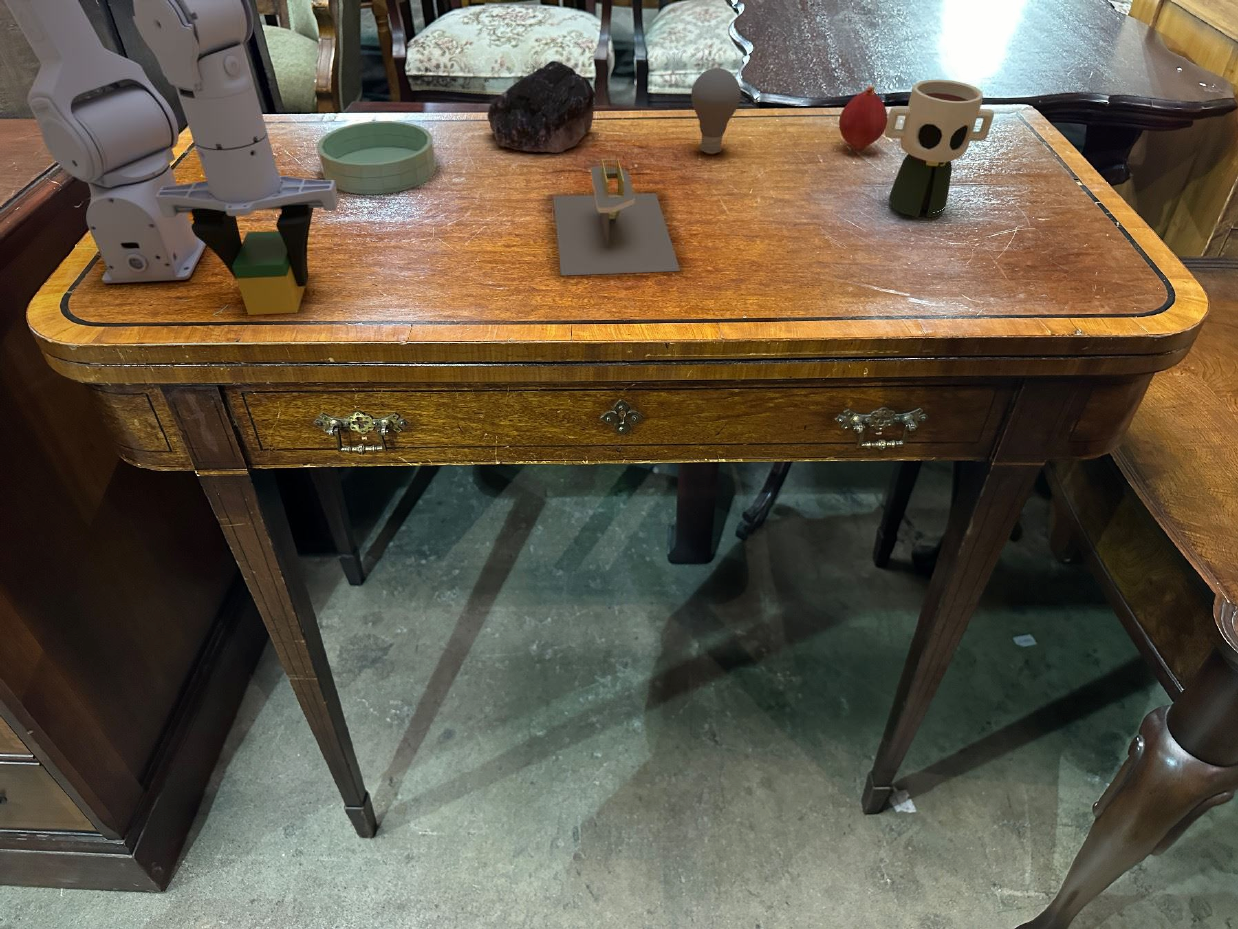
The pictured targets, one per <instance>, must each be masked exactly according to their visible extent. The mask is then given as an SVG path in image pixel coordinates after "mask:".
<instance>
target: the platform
mask: <svg viewBox="0 0 1238 929" xmlns="http://www.w3.org/2000/svg"><path fill="white" fill-rule="evenodd" d="M604 161H605V162H604ZM610 162H612V167H611V166H610ZM590 177H591V182H592V183H591V184H592V187H593V193H594V194H585V195H584V194H580V195H554V196H552V199H553V209H554V219H555V229H556V239H557V250H558V258H559V268H560V276H584V275H610V274H613V275H614V274H634V273H635V274H638V273H661V272H681V268H680V265H679V262H678V260H677V256H676V253H675V252H676V251H675V250H674V246H673V242H672V240H671V237H670V233H669V231H668V227H667V223H666V221H665V217H664V215H663V211H662V208H661V204H660V202H659V198H658V195H657V193H656V192H652V193H651V192H649V193H645V192H643V193H634V190H633V186H632V182H631V178H630V174H629V172H628V171H627V170H626V169H622V167H621V163H620V159H619V158H603V159H601V166H591V167H590ZM610 179H617V194H616V193H615V194H613V193H611V194H609V187H610V183H611V182H610V181H608V180H610Z"/></svg>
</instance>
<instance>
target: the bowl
mask: <svg viewBox="0 0 1238 929" xmlns="http://www.w3.org/2000/svg"><path fill="white" fill-rule="evenodd" d="M316 152H317V156H318V160H319V164H320V170H321V173H322V175H323V178H324V179H323V180H334V181H335V185H336V189H337V191H340V192H345V193H350V194H355V195H385V194H393V193H399V192H403V191H406V190H410V189H413V188H415V187H418V186H420V185H423V184H424V183H425V182H427V181H429V180H430V179H431V178H432V177H433V176H434V175H435V173H436V171H437V159H436V151H435V143H434V136H433V135H432V134H431V133H430V131H428V129H426V128H424V127H422V126H421V125H417V124H413V123H409V122H405V121H396V120H394V121H393V120H375V121H374V120H372V121H365V122H358V123H357V122H356V123H353V124H349V125H345V126H342V127H341V126H340V127H338V128H336V129H334V130H332V131H329V132H327V133H326V134H325V135H324V136H322V137H321V138H320V139H319V140H318V142H317V144H316Z"/></svg>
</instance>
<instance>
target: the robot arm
mask: <svg viewBox="0 0 1238 929" xmlns="http://www.w3.org/2000/svg"><path fill="white" fill-rule="evenodd" d="M131 1H132V3H133V11H134V15H133V16H132V20H133V22H134V25H135V27H136V29H137V31H138V33H139V35H140V36H141V38H142V39H143V42H144V43H145V44H146V45H147V47H148V48H149V49H150V50H151V52H152V53H153V54H154V56H155V58H156V60H157V62H158V64H159V67H160V69H161V73H162V75H163V77H164V78H166V80H167V82H168V84H169V85H171V86H174V87H175V91H176V93H177V96H178V99H179V102H180V105H181V107H182V111H183V114H184V117H185V119H186V123H187V126H188V128H189V132H190V135H191V137H192V141H193V144H194V147H195V150H196V152H197V156H198V159H199V162H200V164H201V168H202V170H203V173H204V177H205V179H206V180H202V181H196V182H191V183H190V182H189V183H183V184H178V183H177V179H176V177H175V174H174V172H173V169H172V167H171V164H170V163H172V162H173V161H175V160H176V156H175V154H174V151H173V149H174V148H176V147H177V145H178V142H179V138H180V134H179V132H180V131H179V125H178V120H177V118H176V115H175V113H174V111H173V109H172V108H171V106H170V104H169V103H168V101H167V100H166V99H165V98H164V97H163V95H162V94H160V93H159V91H158V90H157V88H155V86H154V85H153V84H152V82H151V81H150V79H149V78H148V76H147V75H146V73H145V71H144V69H143V67H142V65H141V64H139V63H137V62H135V61H134V60H132V59H129V58H126V57H124V56H123V55H120V54H118V53H115V52H113V51H111V50H109V49H107V48H105V47H104V45H103V43H102V42H101V40H100V38H99V36H98V34H97V33H96V30H95V28H94V27H93V25H92V23H91V22H90V20H89V18H88V16H87V14H86V13H85V11H84V9H83V7H82V5H81V3H80V1H79V0H3V2H4V3H5V5H6V7H7V9H8V11H9V12H10V14H11V16H12V18H13V19H14V21H15V22H16V24H17V25H18V27H19V29H20V30H21V32H22V34H23V36H24V37H25V39H26V41H27V42H28V44H29V46H30V48H31V49H32V51H33V52H34V54H35V56H36V58H37V59H38V61H39V63H40V64H41V65H40V68H39V70H38V72H37V75H36V78H34V82H33V84H32V86H31V88H30V90H29V92H28V95H27V97H26V103H27V104H28V106H29V109H30V111H31V112H32V114H33V116H34V118H35V120H36V122H37V124H38V127H39V129H40V133H41V137H42V140H43V143H44V145H45V146H46V148H47V150H48V153H49V154H50V155H51V157H52V158H53V159H54V160H55V162H56V163H57V164H58V165H59V166H60V167H61V168H62V169H63V170H64V171H65V172H66V173H67V174H69V175H70V176H72V177H74V178H75V179H77V180H79V181H81V182H84V183H87V185H88V188H89V191H90V202H89V205H88V207H87V210H86V217H85V219H86V224H87V228H88V230H89V233H90V235H91V237H92V238H93V241H94V243H95V245H96V248H97V250H98V252H99V254H100V256H101V258H102V260H103V263H104V265H105V268H106V269H107V270H106V271H105V272H104V274H103V276H102V277H101V281H102V282H103V283H104V284H123V283H124V284H125V283H145V282H163V281H164V282H165V281H185V280H188V279H190V278H191V276H192V274H193V272H194V270H195V268H196V266H197V265H198V262H199V260H200V258H201V257H202V255H203V252H204V250H205V248H206V246H207V247H208V248H209V249H210V250H211V251H212V252H213V253H214V254H215V255H216V256H217V258H219V259H220V261H222V263H223V264H224V265H225V267H226V268H227V270H228V271H229V272H230V273H231V275H232V277H233V278H234V280H235V281H236V282H237V280H236V277H235V274H234V271H233V268H232V266H233V263H234V261H235V259H236V257H237V254H238V252H239V250H240V248H241V245H242V243H243V241H242V238H241V234H240V230H239V225H238V221H237V217H247V216H251V215H252V214H253V213H254V211H255V212H256V211H269V210H270V211H271V210H272V211H273V210H280V211H281V213H280V214H279V216H278V218H277V221H276V223H275V226H276V229H277V231H279V233H280V235H281V237H282V239H283V241H284V244H285V246H286V249H287V251H288V254H289V257H290V260H291V265H292V269H293V274H294V278H295V281H296V283H297V286H298V287H302V286H305V287H306V286H307V284H308V279H309V268H308V266H309V265H308V244H309V235H310V229H311V222H312V217H313V212H314V209H318V208H319V209H320V208H323V210H324V211H325V212H326V211H327V212H329V211H337V210H338V206H339V202H340V198H339V194H338V189H336V185H335V181H334V180H325V179H312V178H303V177H296V176H295V177H294V176H286V175H280V174H279V170H278V166H277V163H276V159H275V155H274V152H273V148H272V144H271V141H270V137H269V134H268V130H267V126H266V123H265V119H264V116H263V111H262V108H261V104H260V101H259V97H258V93H257V90H256V86H255V83H254V82H255V81H254V79H253V75H252V72H251V68H250V64H249V61H248V57H247V53H246V49H245V46H244V44H245V43H248V42H249V41H250V39H251V37H252V35H253V32H254V15H253V11H252V7H251V4H250V1H249V0H131ZM103 87H109V88H111V89H109V90H107V91H104V92H101V93H98V94H95V95H93V96H89V97H86V98H84V99H81V100H78V101H74V102H73V100H74V99H75V98H76V97H77V96H79V95H81V94H84V93H87V92H90V91H94V90H96V89H99V88H103ZM189 214H191V216H192V221H193V222H192V221H191V219H190V216H189Z"/></svg>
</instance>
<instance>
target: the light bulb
mask: <svg viewBox="0 0 1238 929" xmlns="http://www.w3.org/2000/svg"><path fill="white" fill-rule="evenodd" d="M690 96H691V97H690V98H691V104H692V107H693V109H694V113H695V114H696V116H697V119H698V122H699V131H700V132H701V142H700V150H701V151H703V152H704V153H706V154H707V155H714V154H716V153H719V152H721V151H722V144H723V142H722V141H723V136H724V134H725V133H726V131H727V127H728V123H729V122H730V120H731V118H732V117H733V116H734V113H735V112H736V111H737V109H738V107H739V105H740V101H741V96H742V90H741V86H740V83H739V81H738V79H737V77H735V75H734V74H733V73H732V72H731V71H729V70H728V69H724V68H721V67H713V68H709V69H707V70H705V71H704V72H702V73H701V74H700V75H699V76H698V77H697V78H696V80H695V81H694V83H693V85H692V87H691V94H690Z"/></svg>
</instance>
